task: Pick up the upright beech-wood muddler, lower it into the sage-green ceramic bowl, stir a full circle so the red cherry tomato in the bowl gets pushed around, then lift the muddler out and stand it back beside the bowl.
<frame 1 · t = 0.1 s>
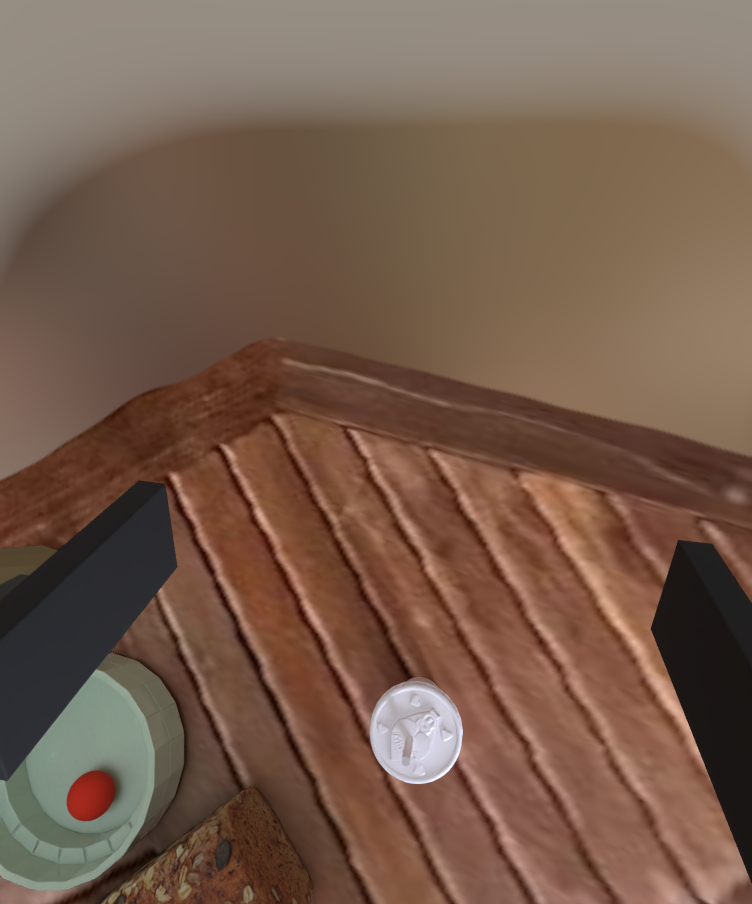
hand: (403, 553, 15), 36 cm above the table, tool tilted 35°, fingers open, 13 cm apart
squeeze bottle: (61, 589, 53), on the table
cherry tomato: (91, 795, 46), point 3 cm above the table, touching bowl
smoothie: (420, 699, 48), on the table
bread: (200, 897, 47), on the table
bowl: (100, 748, 50), on the table
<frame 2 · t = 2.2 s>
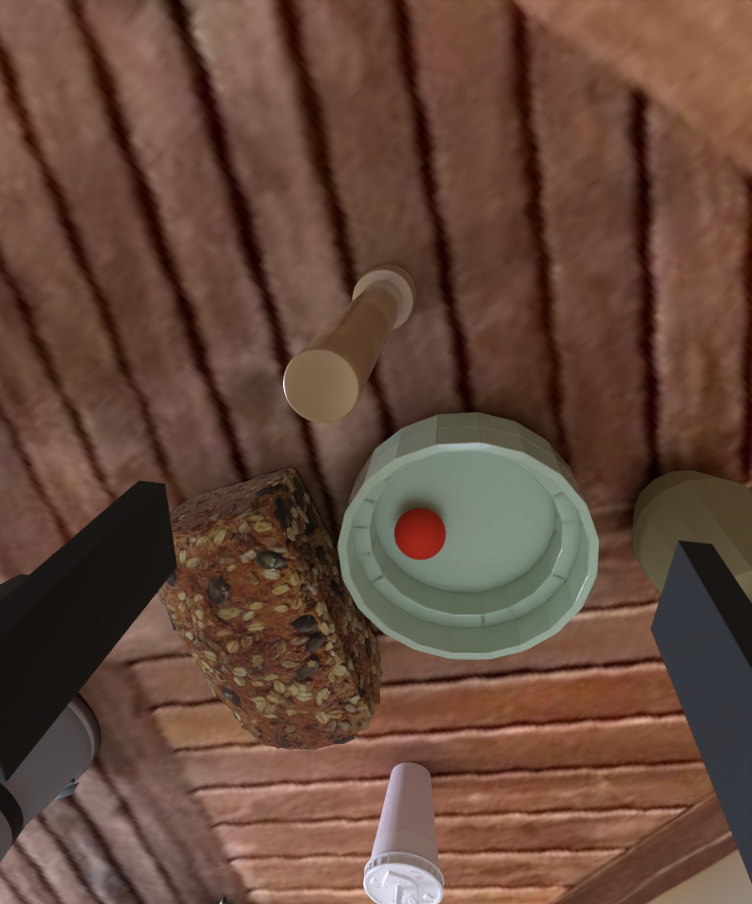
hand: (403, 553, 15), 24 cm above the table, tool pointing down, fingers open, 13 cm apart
squeeze bottle: (677, 505, 39), on the table
cherry tomato: (420, 533, 39), point 3 cm above the table, touching bowl
muddler: (387, 294, 35), on the table
smoothie: (411, 774, 53), on the table
bread: (289, 572, 45), on the table
bowl: (462, 513, 41), on the table
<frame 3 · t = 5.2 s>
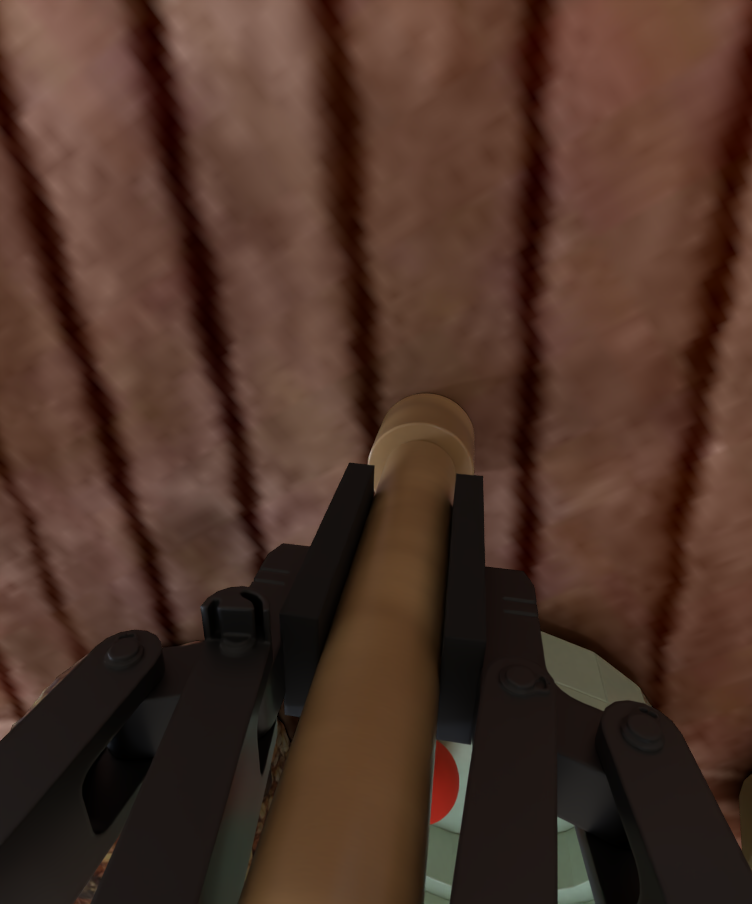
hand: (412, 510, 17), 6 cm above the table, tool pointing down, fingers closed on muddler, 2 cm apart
cherry tomato: (420, 778, 26), point 3 cm above the table, touching bowl
muddler: (426, 437, 22), on the table, touching gripper
bread: (224, 757, 32), on the table
bowl: (485, 740, 28), on the table
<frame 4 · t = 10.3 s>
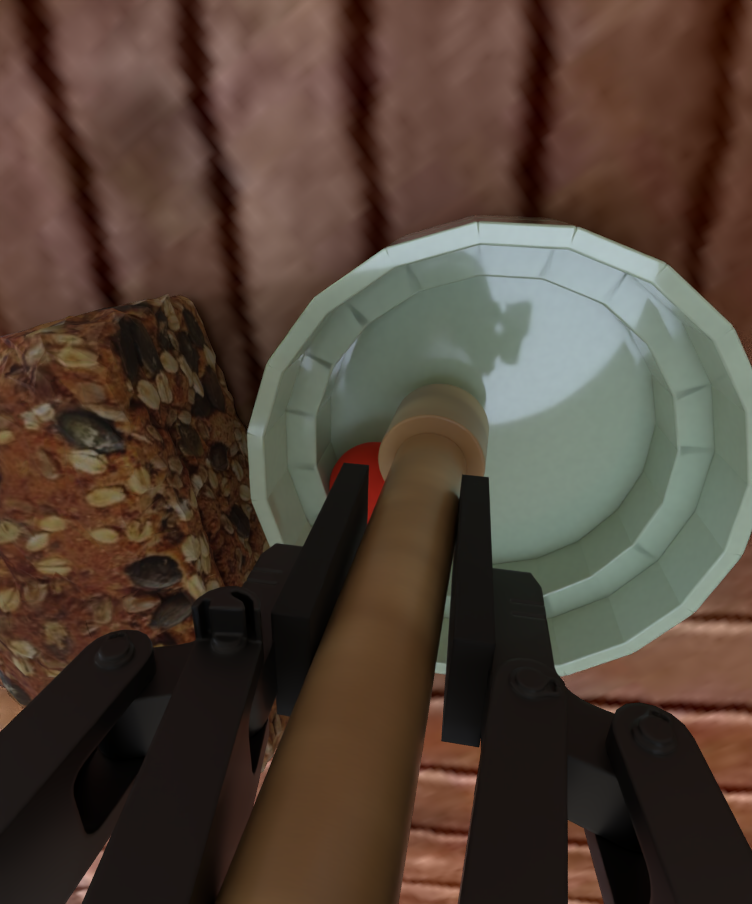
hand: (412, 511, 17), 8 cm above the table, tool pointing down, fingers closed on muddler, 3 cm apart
cherry tomato: (374, 486, 22), point 3 cm above the table, tilted 68°, touching bowl, muddler
muddler: (440, 427, 21), point 2 cm above the table, touching cherry tomato, gripper
bread: (178, 492, 28), on the table
bowl: (484, 424, 24), on the table
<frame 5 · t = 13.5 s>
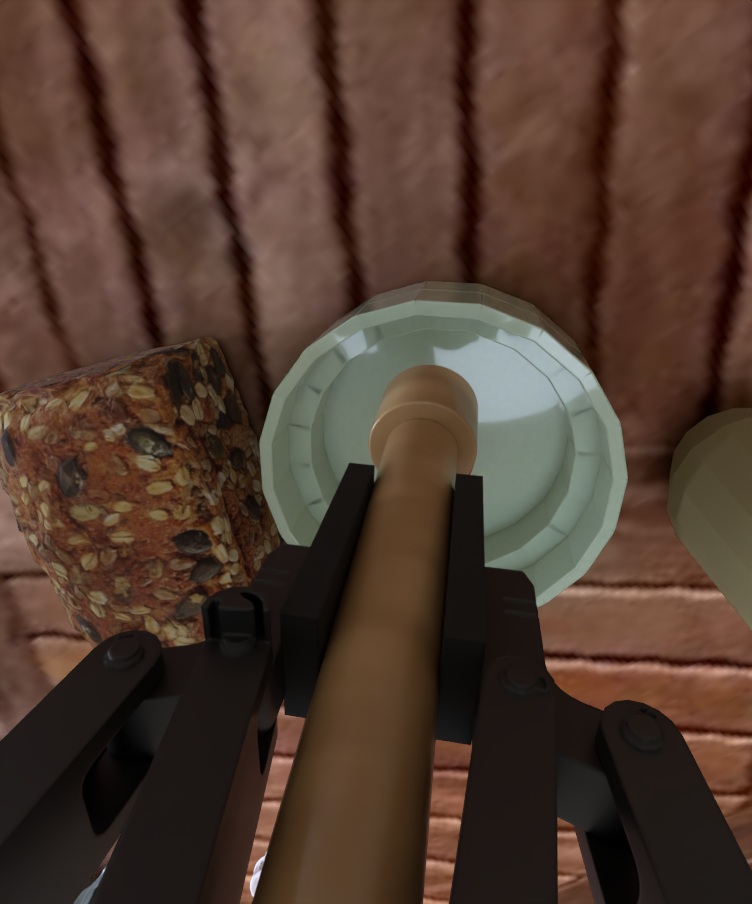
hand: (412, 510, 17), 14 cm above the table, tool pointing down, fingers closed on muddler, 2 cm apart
squeeze bottle: (730, 458, 29), on the table
muddler: (429, 408, 21), point 8 cm above the table, tilted 7°, touching gripper
dark grey tapered piece: (96, 891, 59), on the table
bread: (204, 485, 35), on the table
bowl: (441, 433, 31), on the table
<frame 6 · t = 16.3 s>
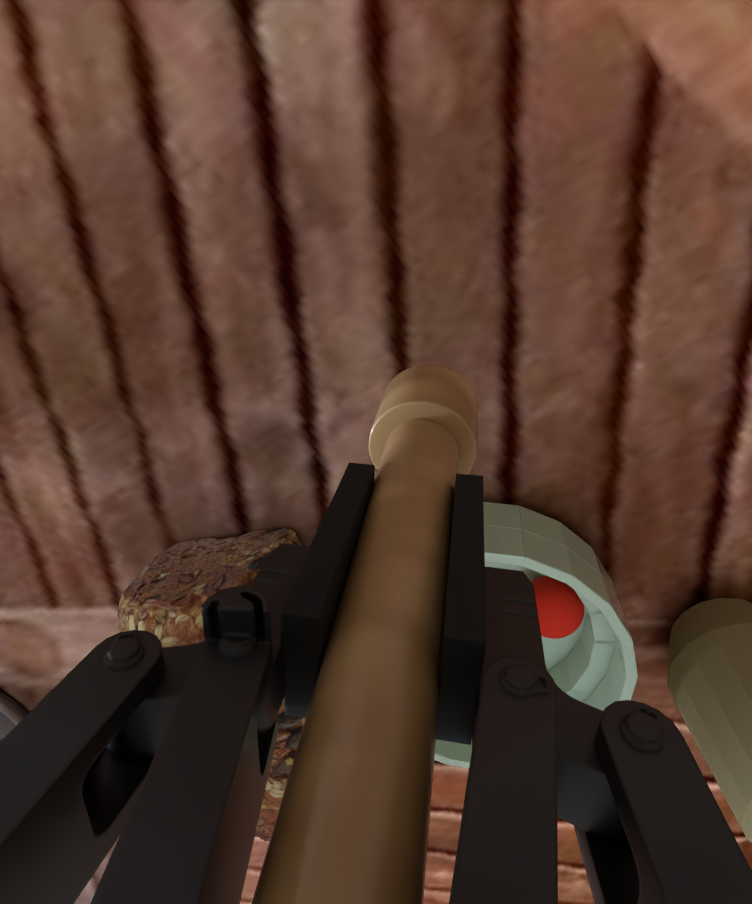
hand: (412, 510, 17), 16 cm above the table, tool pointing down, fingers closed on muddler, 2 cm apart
squeeze bottle: (718, 630, 35), on the table
cherry tomato: (551, 606, 33), point 3 cm above the table, tilted 130°, touching bowl
muddler: (429, 408, 21), point 10 cm above the table, tilted 7°, touching gripper
bread: (275, 631, 41), on the table
bowl: (481, 603, 37), on the table
when the fingers open (6 cm above the table, at t = 19.1 s): muddler stays where it is, on the table.
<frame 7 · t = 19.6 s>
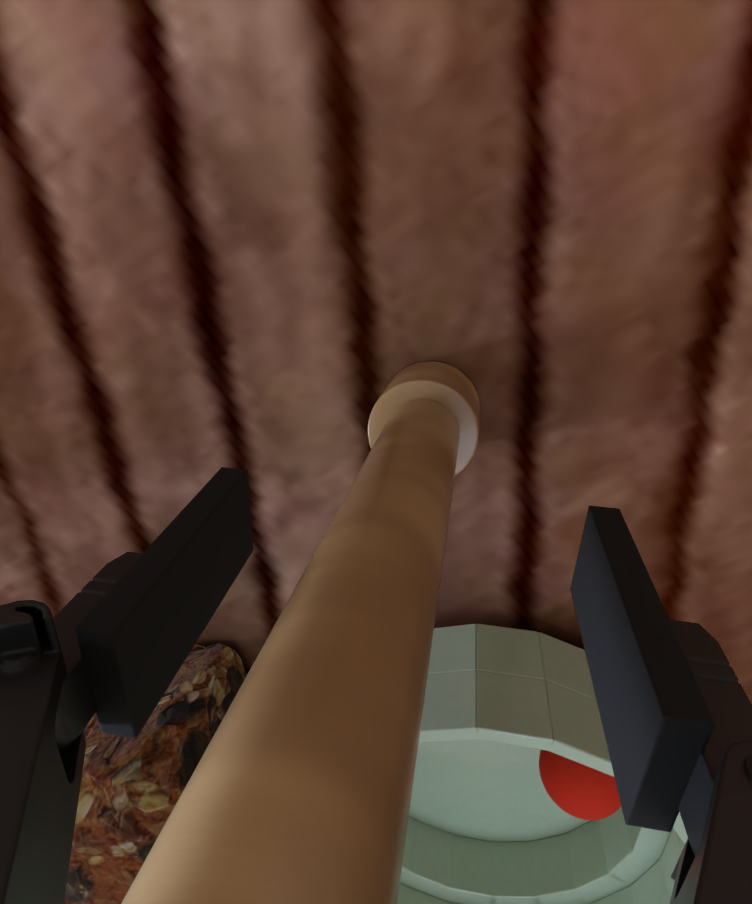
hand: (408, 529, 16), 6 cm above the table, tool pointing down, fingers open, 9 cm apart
cherry tomato: (582, 769, 24), point 3 cm above the table, tilted 131°, touching bowl
muddler: (430, 409, 21), on the table
bread: (218, 759, 32), on the table
bowl: (485, 741, 28), on the table
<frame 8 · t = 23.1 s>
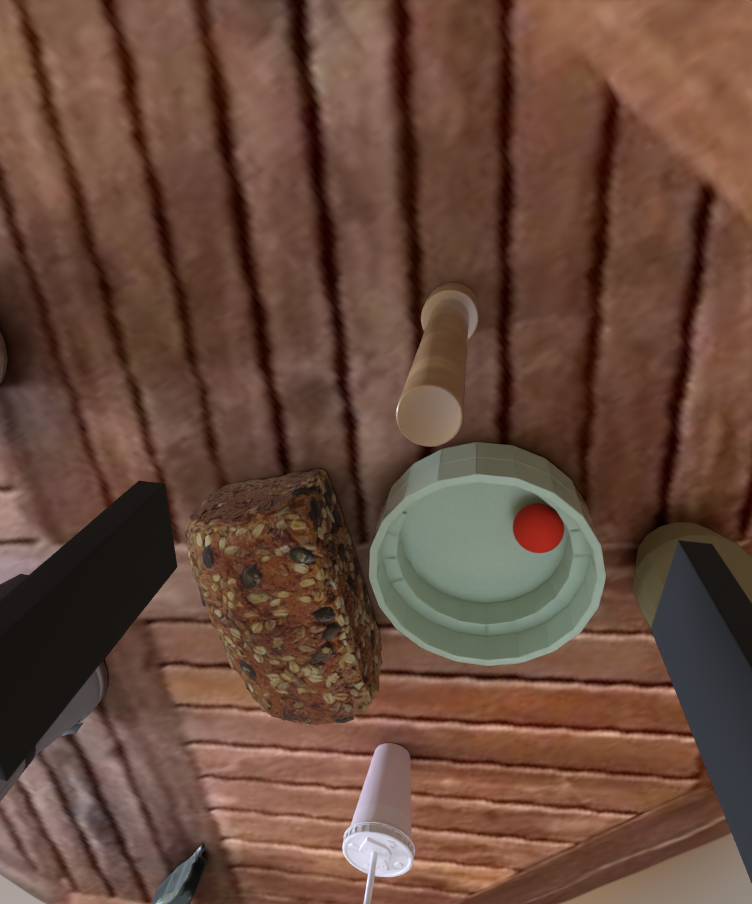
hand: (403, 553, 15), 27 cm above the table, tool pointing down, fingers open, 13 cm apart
squeeze bottle: (675, 551, 43), on the table
cherry tomato: (538, 528, 41), point 3 cm above the table, tilted 132°, touching bowl
muddler: (451, 309, 38), on the table
smoothie: (392, 754, 58), on the table
dark grey tapered piece: (187, 867, 73), on the table
bread: (307, 561, 49), on the table
bowl: (481, 531, 45), on the table
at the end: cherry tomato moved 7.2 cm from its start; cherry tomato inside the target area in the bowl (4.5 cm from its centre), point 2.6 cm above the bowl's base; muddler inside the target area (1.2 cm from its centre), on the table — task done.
